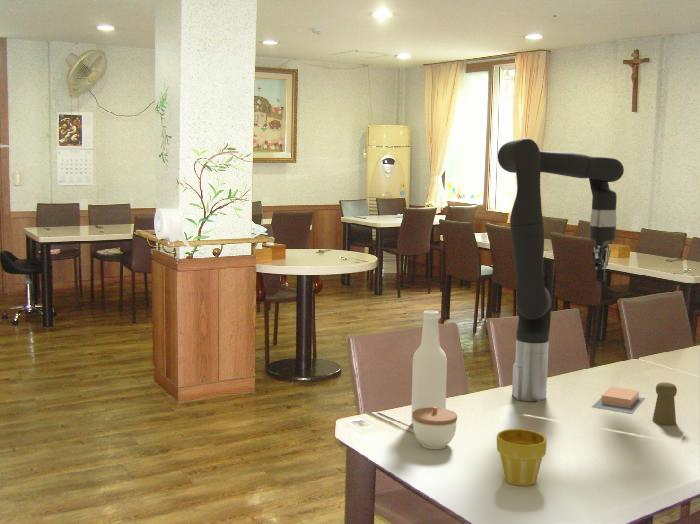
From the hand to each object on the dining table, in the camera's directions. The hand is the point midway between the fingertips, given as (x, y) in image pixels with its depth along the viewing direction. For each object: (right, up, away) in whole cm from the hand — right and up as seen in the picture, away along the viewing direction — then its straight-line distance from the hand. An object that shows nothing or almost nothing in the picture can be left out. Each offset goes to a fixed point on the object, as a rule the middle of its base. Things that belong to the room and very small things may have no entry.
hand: (600, 281), depth 239 cm
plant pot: (-40, -41, -71) cm, 91 cm away
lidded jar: (-56, -39, -50) cm, 85 cm away
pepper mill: (+7, -37, -32) cm, 49 cm away
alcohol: (-56, -37, -35) cm, 76 cm away
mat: (+1, -35, -15) cm, 38 cm away
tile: (-1, -34, -18) cm, 38 cm away
